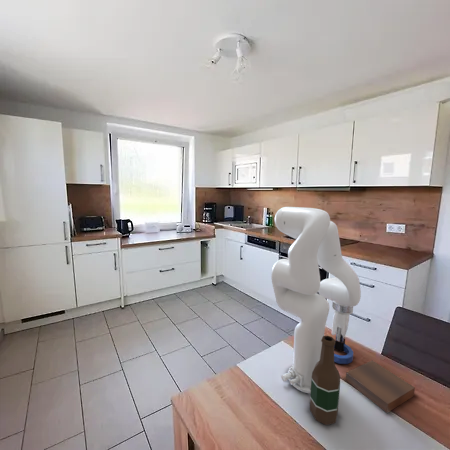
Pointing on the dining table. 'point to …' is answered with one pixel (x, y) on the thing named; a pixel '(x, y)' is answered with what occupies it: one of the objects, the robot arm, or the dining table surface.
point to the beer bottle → (325, 385)
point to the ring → (346, 358)
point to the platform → (380, 385)
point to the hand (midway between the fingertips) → (339, 348)
